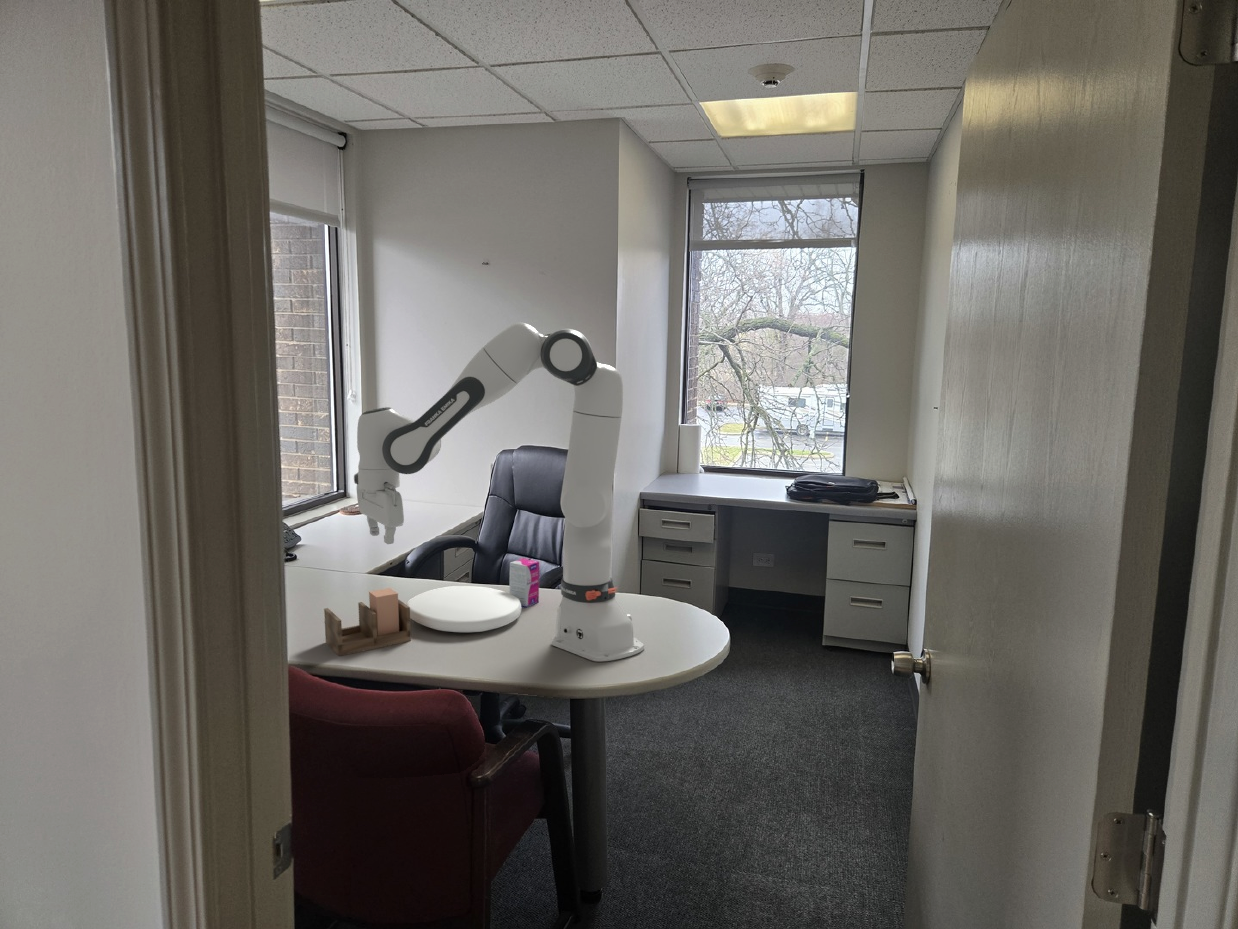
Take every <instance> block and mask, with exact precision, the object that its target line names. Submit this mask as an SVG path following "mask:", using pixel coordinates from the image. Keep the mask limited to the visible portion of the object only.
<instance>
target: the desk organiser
mask: <svg viewBox="0 0 1238 929" xmlns="http://www.w3.org/2000/svg"><path fill="white" fill-rule="evenodd" d="M357 603H358V606H357V607H358V625H353V626H349V627H344V628H343V626H342V620H341V619H340V618H339V616H337V615H336V614H335V613H334V612H333V611H332V610H331V609H329V608H328V607H327V608H323V612H324V613H323V614H324V631H325V633H324V634H325V643H326V644H327V645H328V644H329V645H328V647H330V648H331V649H332V650H333V651H334V653H335V654H337V655H338V656H339V657H340V656H341V657H342V656H345V655H349V654H355V652H356V653H360V652H364V651H363V650H365V651H369V650H373V649H378V648H383V647H382V646H384V647H388V646H392V644H393V645H397V644H403V643H407V642H411V640H412V637H411V636H412V634H411V633H412V632H411V630H412V628H411V619H410V607H409V606H407V603H406V604H405V603H404V602H403V601H402V600H400V599H399V598H398V612H399V632H394V633H389V634H384V635H379V636H377V616H376V613H375V612H374V611H372V610H371V609H370V606H367V605H366V604H365V603H364V602H362V601H360V602H357ZM387 645H388V646H387ZM359 651H360V652H359Z"/></svg>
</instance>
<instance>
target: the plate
mask: <svg viewBox="0 0 1238 929" xmlns="http://www.w3.org/2000/svg"><path fill="white" fill-rule="evenodd" d="M406 605H407V606H409V607H410V620H413V621H414V622H416V623H418V624H419V625H422V626H424V627H427V628H430V629H432V630H437V631H441V632H450V633H451V632H452V633H482V632H486V631H491V630H494V629H498V628H501V627H503V626H506V625H509V624H510V623H512V622H514V621H516V619H518V618H519V617H520V615H521V613H522V607H521V603H520V601H519V599H518V598H517V597H515V596H513V595H512V594H509V592H506V591H504V590H501V589H496V588H493V587H492V588H491V587H487V586H486V587H485V586H473V585H450V586H449V585H448V586H445V587H438V588H434V589H430V590H429V589H428V590H427V591H424V592H421V593H419V594H417V595H414V596H413V597H412V598H410V599H409V600H408V601H407V603H406Z"/></svg>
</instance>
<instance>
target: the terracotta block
mask: <svg viewBox="0 0 1238 929" xmlns="http://www.w3.org/2000/svg"><path fill="white" fill-rule="evenodd" d="M368 597H369V598H368V600H369V608H370V609H371V610H372V611H374V612H375V613H376V616H377V636H379V635H384V634H389V633H394V632H399V612H398V599H399V593H398V592H396V590H394V589H392V588H391V587H387V588H383V589H377V590H372V591H368Z"/></svg>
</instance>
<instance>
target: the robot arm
mask: <svg viewBox="0 0 1238 929" xmlns="http://www.w3.org/2000/svg"><path fill="white" fill-rule="evenodd" d="M591 345H592V344H590V341H589V339H588V338H587V337H586V336H585V335H584V334H583V333H582V332H580V331H578V330H576V329H572V328H562V329H558V330H556V331H554V332H552V333H548V334H542V333H540V331H538V330H537V329H536V328H535V327H534V326H532V325H530V324H529V323H527V322H526V323H525V322H522V321H521V322H515V323H513V324H512V325H510V326H508V327H507V328H505V329H504V330H503V331H501V332H500V333H498V334H497V335H495V336H494V337H493V338H492V339H491V340H489V341H488V342H487V343H486V344H485V345H484V346H483V347H481V349H480V350H478V351H477V353H476V354H475V355H474V356H473V358H471V359H470V360H469V362H468V363H467V365H466V366H465V367H464V369H463V370H462V372H461V373H460V374H459V376H458V377H457V379H456V380H455V382H454V383H453V384H452V385H451V387H450V388H449V389H448V390H447V392H445V393H444V395H442V397H441V398H440V399H439V400H438V401H436V402H435V403H434V404H433V405H432V406H431V407H430V408H428V410H426V411H425V412H424V413H423V414H422V415H421V416H420V417H419V418H417V419H416V420H415V419H413V418H409V417H407V416H405V415H403V414H402V413H399V412H397V411H396V410H395V408H392V407H387V406H385V407H380V408H374V409H370V410H366V411H364V412H363V413H362V414H360V415H359V417H358V420H357V430H356V440H357V441H356V443H357V445H356V447H357V451H358V455H359V461H358V467H357V468H358V471H357V473H356V472H355V474H354V475H353V482H354V484H356V498H357V506H358V510H359V512H360V514H362V515H364V516H365V517H366V520H367V523H368V527H369V535H370V536H373V537H375V536H380V527H379V524H378V523H380V524H381V525H383V526H384V530H385V532H384V535H383V542H384V543H385V544H386V545H391V544H394V542H395V534H396V530H397V527H398V528H399V527H402V526H403V525H404V521H405V518H404V517H405V515H404V504H403V499H402V494H401V492H399V491H397V488H399V487H400V474H402V475H413V474H415V473H418V472H420V471H421V470H422V469H424V467H425V466H426V465H427V464H428V463H430V462H431V461H432V460H433V459H435V458H436V456H437V455H438V454H439V452H440V451H441V446H442V438H444V437H445V436H446V435H447V434H448V433H449V432H450V431H451V430H452V429H453V428H454V427H455V426H456V425H457V424H459V422H461V421H462V420H463V419H464V418H465V417H467V416H468V415H470V414H471V413H473V412H475V411H477V410H479V409H480V408H483V407H485V406H488V405H490V404H492V403H493V402H495V401H497V400H499V399H500V398H503V396H504V395H506V394H507V393H509V392H510V391H512V390H513V389H514V388H515V387H516V386H518V385H519V383H520V382H521V381H523V379H524V378H526V376H528V375H529V374H530V373H531V372H534V371H535V370H537V369H545V370H547V372H548V373H550V374H551V375H552V376H553V377H555V378H557V379H558V380H562V381H563V382H566V383H569V384H570V385H573V389H574V403H573V409H572V417H571V427H570V434H569V441H568V442H569V444H568V450H567V455H566V462H565V467H564V473H563V474H564V475H563V480H562V486H561V493H560V503H559V504H560V508H561V511H562V514H563V516H564V533H563V543H562V544H563V546H562V550H563V552H562V555H563V556H562V568H563V569H562V575H563V576H562V578H561V581H560V589H561V590H560V594H561V596H562V599H561V601H560V603H559V605H558V608H557V612H556V613H557V614H556V624H555V635H554V637H552V639H551V642H550V645H551V646H553V647H557V648H559V649H561V650H564V651H567V652H569V653H572V654H575V655H577V656H580V657H582V658H585V659H588V660H589V661H591V662H592V661H593V662H609V661H616V660H620V659H624V658H629V657H631V656H634V655H637V654H639V653H641V652H642V651H643V650H644V649H645V645H644V643H643V642H641V641H640V640H639V639H638V638H636V637H635V636H634V626H633V619H632V616H631V614H630V613H626V611H625V610H624V608H623V607H622V605H621V604H620V603H619V601H618V600H617V598H616V593H618V591H617V589H618V587H617V586H616V587H615V585H614V582H613V579H612V577H611V576H612V575H611V574H612V573H611V569H612V563H611V562H612V560H611V558H612V524H613V521H612V520H613V483H614V479H615V478H614V476H615V468H616V463H617V457H618V456H617V454H618V448H619V440H620V433H621V424H622V416H623V407H624V406H623V405H624V386H623V377H622V374H621V373H620V371H619V370H617V368H615V367H613V366H611V365H609V364H605V363H600V362H598V361H597V360H596V358H595V355H594V353H593V349H592V346H591Z"/></svg>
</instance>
